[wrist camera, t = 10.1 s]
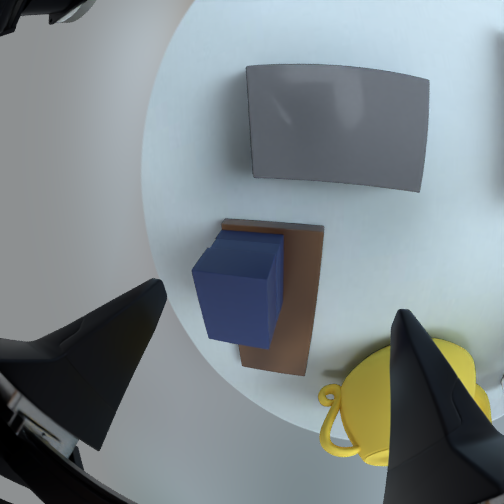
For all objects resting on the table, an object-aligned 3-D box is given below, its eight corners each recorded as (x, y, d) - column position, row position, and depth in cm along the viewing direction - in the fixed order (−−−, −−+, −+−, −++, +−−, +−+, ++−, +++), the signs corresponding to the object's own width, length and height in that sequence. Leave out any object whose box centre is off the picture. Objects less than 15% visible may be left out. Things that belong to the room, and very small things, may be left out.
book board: (244, 360, 33) (241, 366, 32) (225, 218, 22) (220, 223, 22) (305, 370, 31) (304, 376, 30) (324, 225, 20) (323, 232, 20)
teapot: (517, 318, 19) (548, 416, 8) (465, 394, 28) (471, 469, 17) (323, 328, 26) (302, 457, 15) (319, 402, 36) (303, 484, 25)
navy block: (276, 323, 22) (269, 350, 20) (220, 314, 23) (208, 338, 21) (276, 253, 18) (267, 279, 16) (207, 246, 20) (190, 270, 17)
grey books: (258, 169, 19) (245, 183, 17) (252, 68, 15) (237, 64, 13) (407, 181, 17) (420, 198, 14) (415, 79, 12) (431, 77, 10)
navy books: (283, 302, 24) (277, 324, 22) (230, 294, 26) (220, 315, 23) (283, 234, 21) (276, 254, 18) (221, 229, 22) (208, 248, 20)
